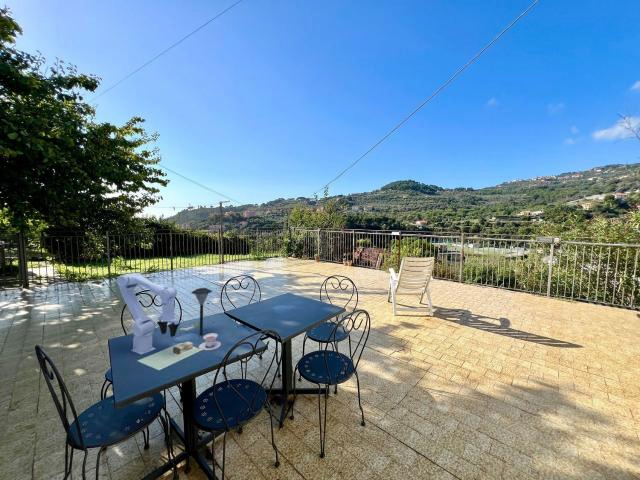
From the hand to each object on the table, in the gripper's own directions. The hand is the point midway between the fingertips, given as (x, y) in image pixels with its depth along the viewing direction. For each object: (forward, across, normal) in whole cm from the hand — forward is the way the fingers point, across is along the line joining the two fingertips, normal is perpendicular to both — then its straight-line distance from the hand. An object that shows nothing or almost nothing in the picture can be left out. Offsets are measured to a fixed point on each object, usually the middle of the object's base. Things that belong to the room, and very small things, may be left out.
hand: (168, 334), depth 144 cm
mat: (+10, +4, -1) cm, 11 cm away
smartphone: (+11, -22, +32) cm, 40 cm away
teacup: (+11, +12, +18) cm, 24 cm away
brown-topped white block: (+10, +4, +6) cm, 12 cm away
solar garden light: (+11, -6, +26) cm, 28 cm away
